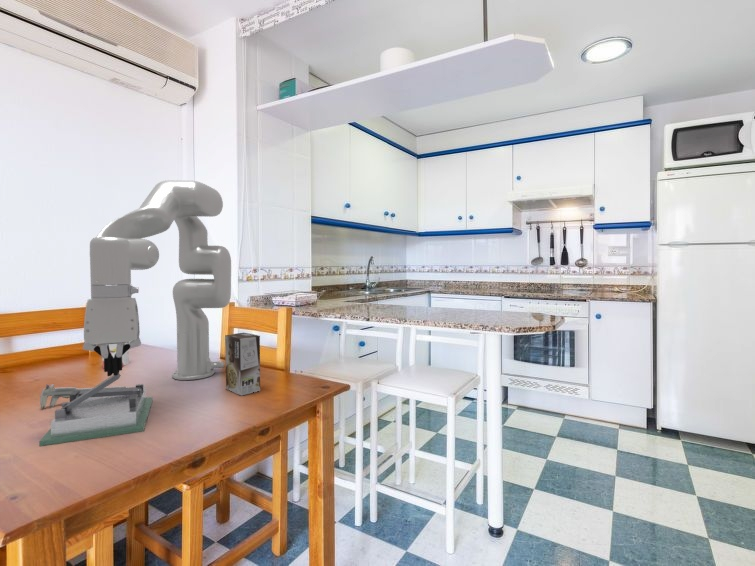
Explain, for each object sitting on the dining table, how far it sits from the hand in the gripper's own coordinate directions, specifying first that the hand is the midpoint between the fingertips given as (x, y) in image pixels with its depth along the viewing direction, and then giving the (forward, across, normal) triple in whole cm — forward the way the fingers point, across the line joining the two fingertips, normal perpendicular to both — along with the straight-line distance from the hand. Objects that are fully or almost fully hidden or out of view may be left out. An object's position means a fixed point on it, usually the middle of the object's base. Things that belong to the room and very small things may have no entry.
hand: (113, 374), depth 91 cm
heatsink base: (+12, +3, -5) cm, 13 cm away
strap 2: (+7, +2, -9) cm, 12 cm away
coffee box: (+12, -29, -15) cm, 35 cm away
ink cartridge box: (+12, +8, -62) cm, 64 cm away
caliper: (+12, +10, -24) cm, 29 cm away
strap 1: (+4, +4, 0) cm, 6 cm away
